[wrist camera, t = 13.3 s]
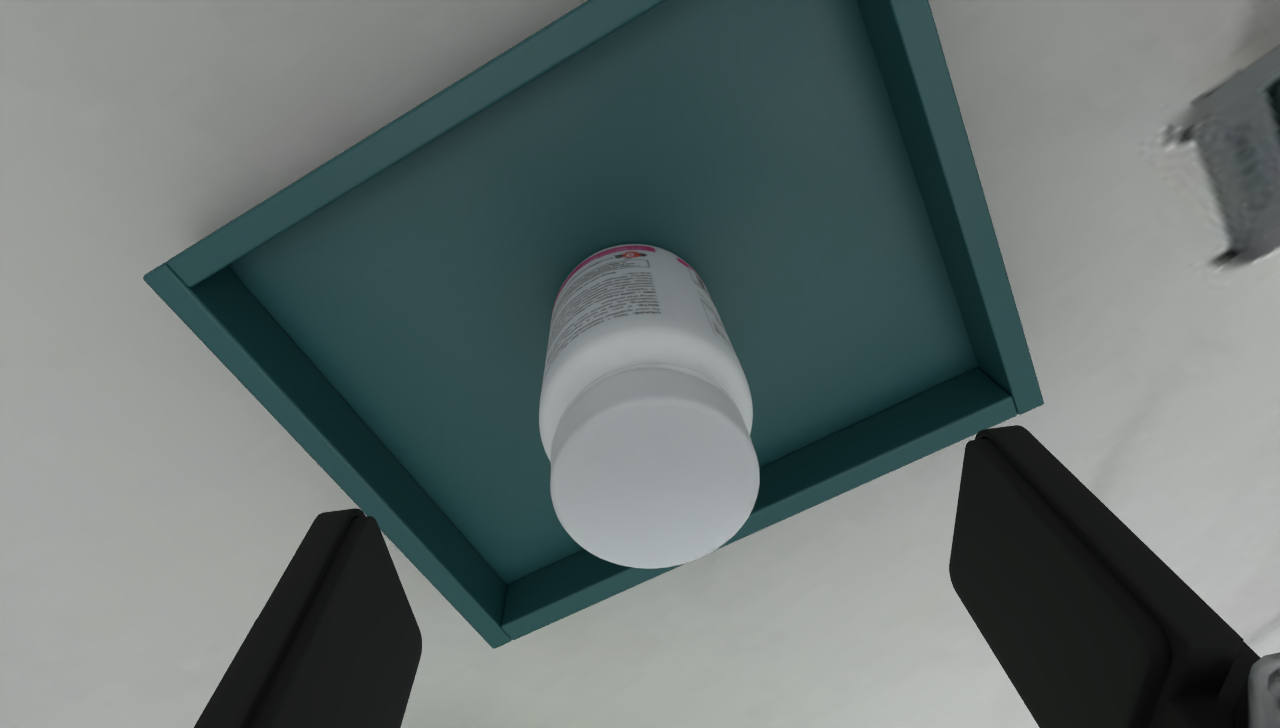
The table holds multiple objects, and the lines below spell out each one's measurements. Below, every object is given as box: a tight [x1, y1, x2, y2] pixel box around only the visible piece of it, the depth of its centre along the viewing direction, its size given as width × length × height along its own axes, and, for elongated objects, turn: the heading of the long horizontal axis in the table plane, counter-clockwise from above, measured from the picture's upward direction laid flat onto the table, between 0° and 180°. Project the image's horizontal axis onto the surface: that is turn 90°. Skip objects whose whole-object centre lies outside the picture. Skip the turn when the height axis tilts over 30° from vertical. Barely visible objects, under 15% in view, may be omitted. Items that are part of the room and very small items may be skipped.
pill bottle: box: [539, 244, 760, 569], centre depth 16 cm, size 5×5×8 cm
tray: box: [143, 0, 1044, 648], centre depth 19 cm, size 20×16×3 cm
